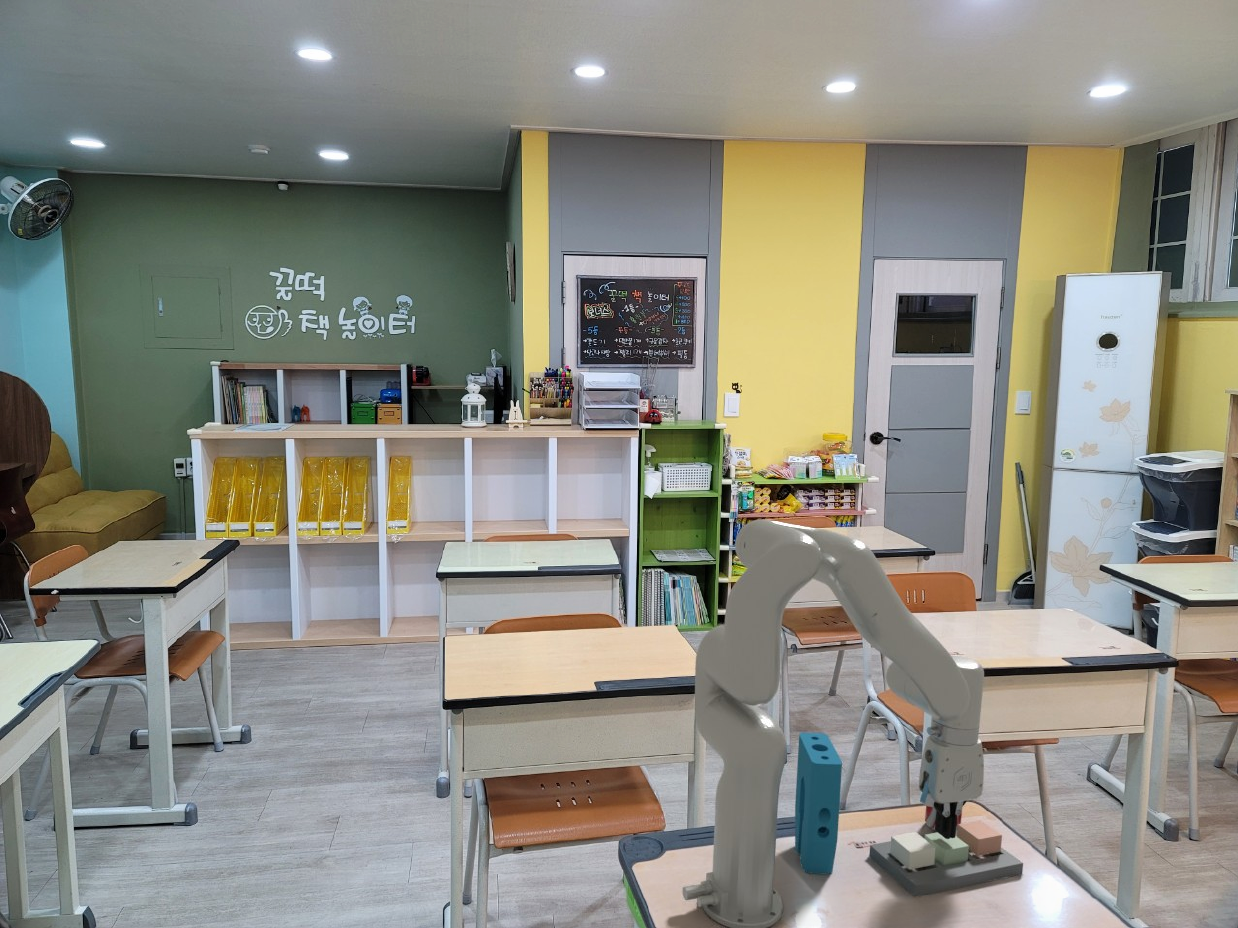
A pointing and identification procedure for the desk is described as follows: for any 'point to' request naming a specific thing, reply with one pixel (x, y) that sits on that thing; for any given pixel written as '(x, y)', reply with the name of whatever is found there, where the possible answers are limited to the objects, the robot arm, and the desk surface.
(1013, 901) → the desk surface
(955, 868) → the button panel
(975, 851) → the terracotta button
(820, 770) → the block
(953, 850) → the sage button
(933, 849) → the cream button
